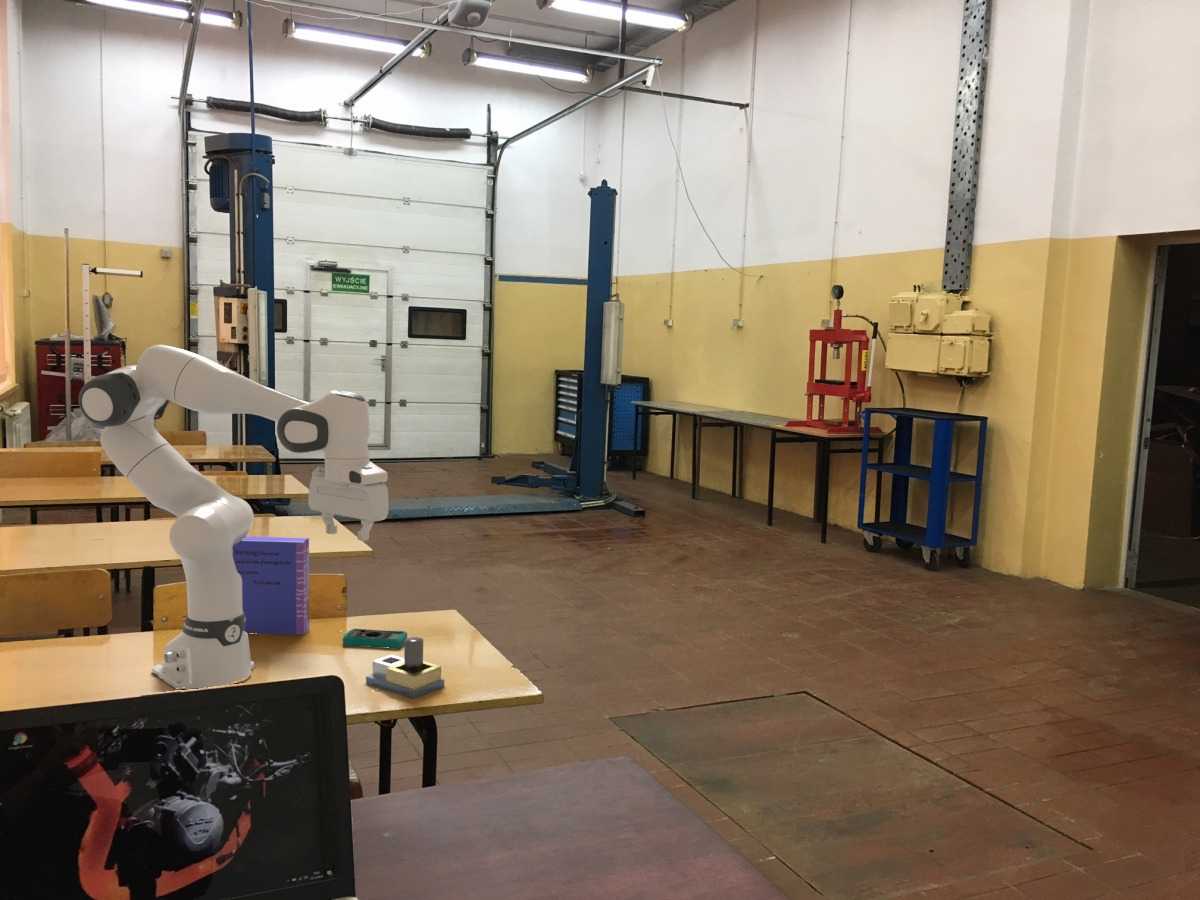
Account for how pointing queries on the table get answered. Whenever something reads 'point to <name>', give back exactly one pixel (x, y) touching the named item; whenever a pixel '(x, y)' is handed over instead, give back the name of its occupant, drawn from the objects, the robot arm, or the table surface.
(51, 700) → the table surface
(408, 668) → the cylinder
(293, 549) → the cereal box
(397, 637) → the digital multimeter
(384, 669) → the desk organizer
